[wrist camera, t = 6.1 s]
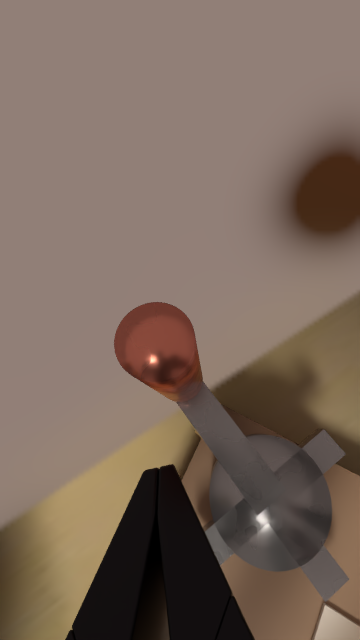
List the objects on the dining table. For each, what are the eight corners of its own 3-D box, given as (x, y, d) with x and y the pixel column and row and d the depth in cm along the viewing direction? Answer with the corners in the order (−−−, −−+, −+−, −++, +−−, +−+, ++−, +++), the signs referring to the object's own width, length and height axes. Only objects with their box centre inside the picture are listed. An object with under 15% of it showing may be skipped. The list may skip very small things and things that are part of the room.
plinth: (413, 507, 17) (468, 529, 13) (336, 799, 13) (382, 936, 10) (209, 400, 20) (209, 395, 16) (106, 619, 16) (76, 673, 13)
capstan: (385, 512, 15) (666, 654, 6) (255, 634, 14) (344, 1049, 5) (225, 327, 19) (238, 234, 10) (115, 410, 18) (12, 395, 9)
